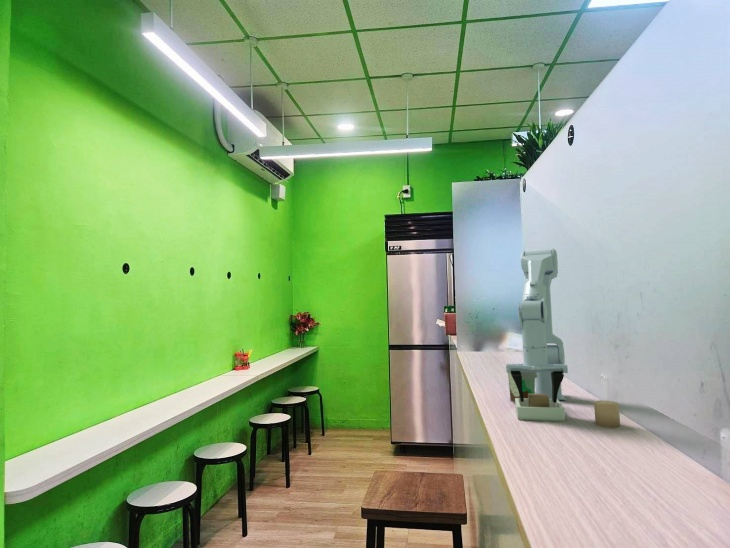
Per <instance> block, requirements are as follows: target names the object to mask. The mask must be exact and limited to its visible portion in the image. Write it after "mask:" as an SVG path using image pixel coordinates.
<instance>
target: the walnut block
mask: <svg viewBox="0 0 730 548" xmlns="http://www.w3.org/2000/svg"><path fill="white" fill-rule="evenodd" d="M528 404H529V407H549V397H548V396H547V394H528Z"/></svg>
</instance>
